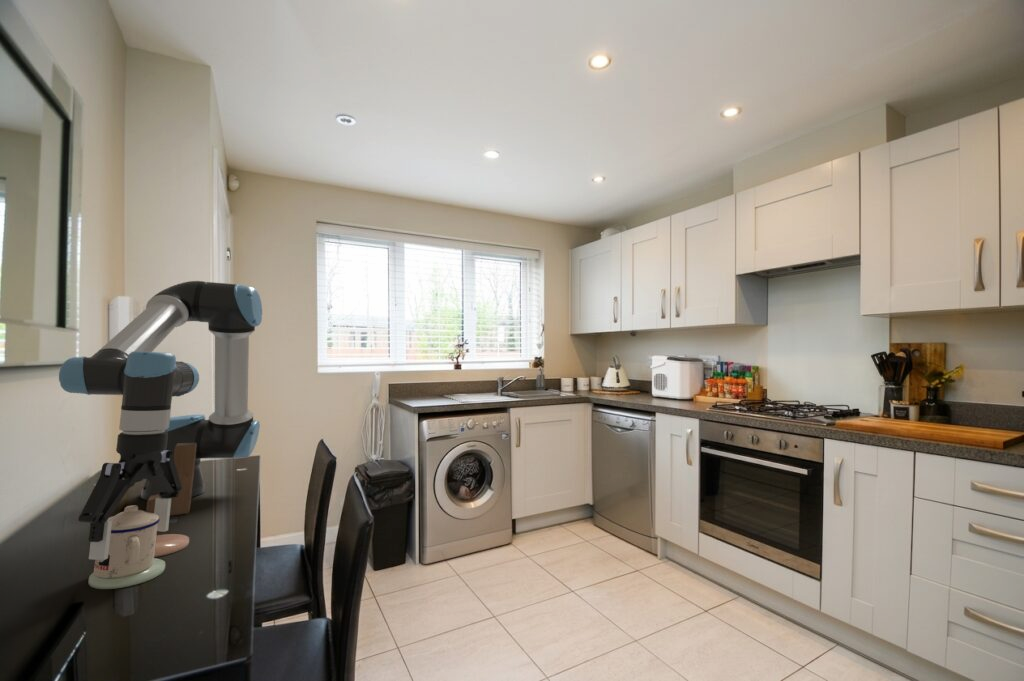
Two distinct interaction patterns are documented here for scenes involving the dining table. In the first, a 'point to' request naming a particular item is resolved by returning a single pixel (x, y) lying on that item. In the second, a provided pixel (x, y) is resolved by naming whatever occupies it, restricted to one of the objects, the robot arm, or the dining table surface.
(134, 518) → the teacup with lid
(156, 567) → the sage coaster
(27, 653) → the dining table surface
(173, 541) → the pink coaster
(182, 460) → the wooden block
